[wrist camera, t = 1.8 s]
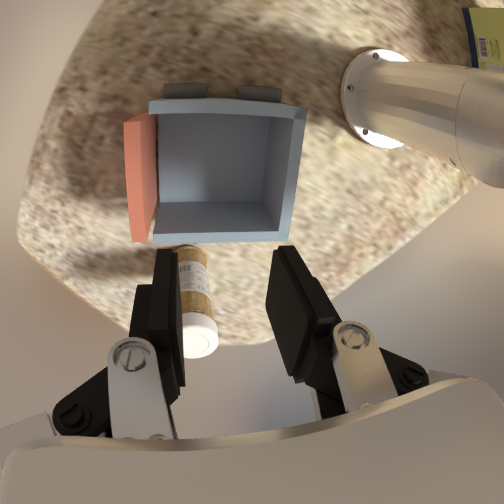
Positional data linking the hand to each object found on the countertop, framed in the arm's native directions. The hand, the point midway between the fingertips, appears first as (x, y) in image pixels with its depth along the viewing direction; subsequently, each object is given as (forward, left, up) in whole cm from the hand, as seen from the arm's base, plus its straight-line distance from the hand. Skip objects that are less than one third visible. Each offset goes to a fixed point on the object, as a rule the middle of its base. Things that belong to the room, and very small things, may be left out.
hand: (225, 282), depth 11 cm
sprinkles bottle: (+2, +13, -21) cm, 25 cm away
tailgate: (+5, 0, -20) cm, 21 cm away
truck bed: (-1, 0, -21) cm, 21 cm away
